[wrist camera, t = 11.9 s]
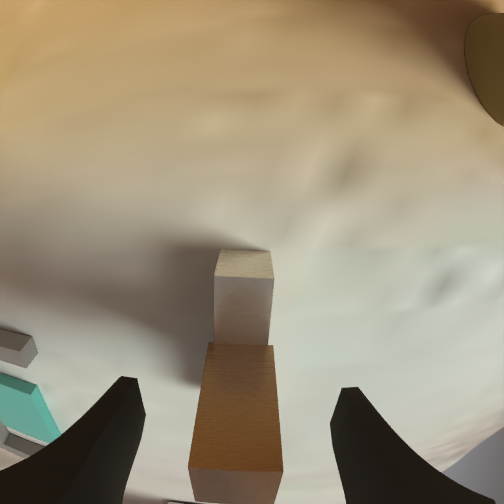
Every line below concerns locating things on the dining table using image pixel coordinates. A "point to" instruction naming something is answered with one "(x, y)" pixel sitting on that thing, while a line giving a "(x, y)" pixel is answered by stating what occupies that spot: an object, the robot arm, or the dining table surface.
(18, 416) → the tile
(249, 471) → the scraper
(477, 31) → the cork
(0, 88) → the dining table surface
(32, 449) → the frame
